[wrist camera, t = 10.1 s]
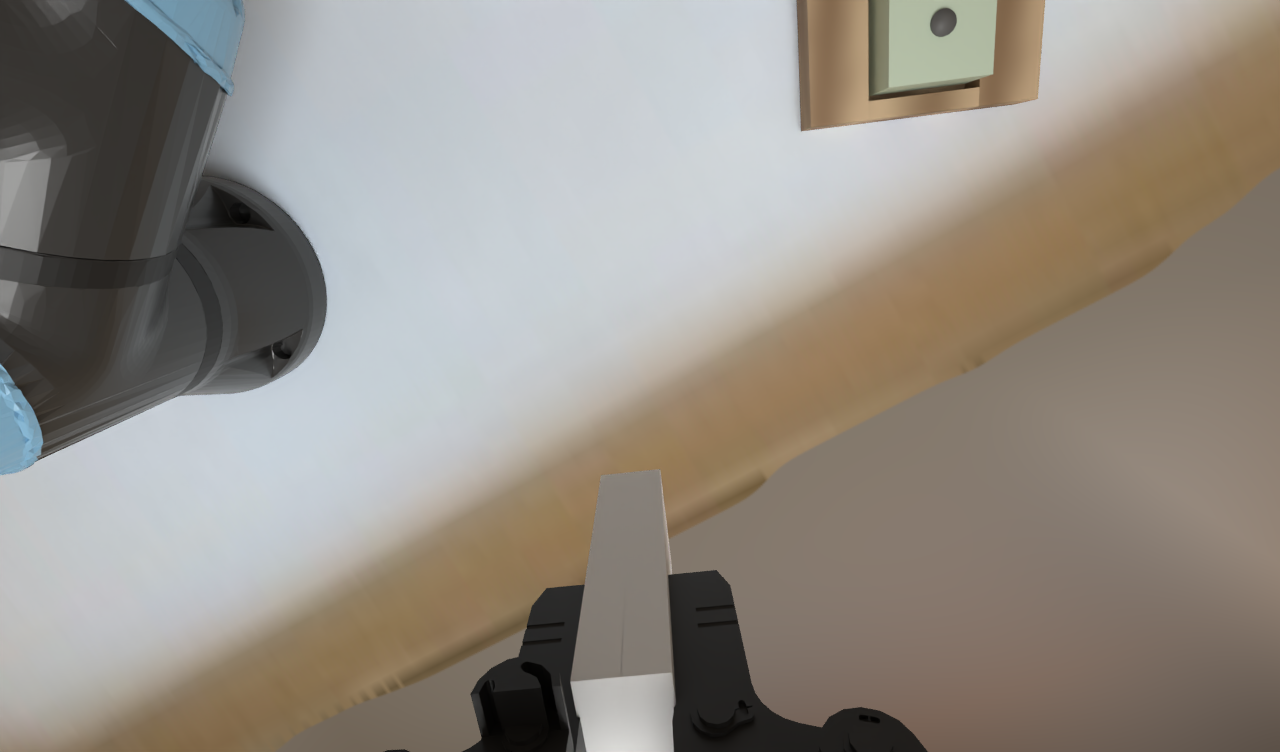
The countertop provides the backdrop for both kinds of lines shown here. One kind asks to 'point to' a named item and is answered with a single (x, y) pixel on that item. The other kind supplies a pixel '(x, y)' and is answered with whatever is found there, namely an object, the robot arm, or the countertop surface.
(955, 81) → the tile one
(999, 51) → the tile board
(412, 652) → the countertop surface
